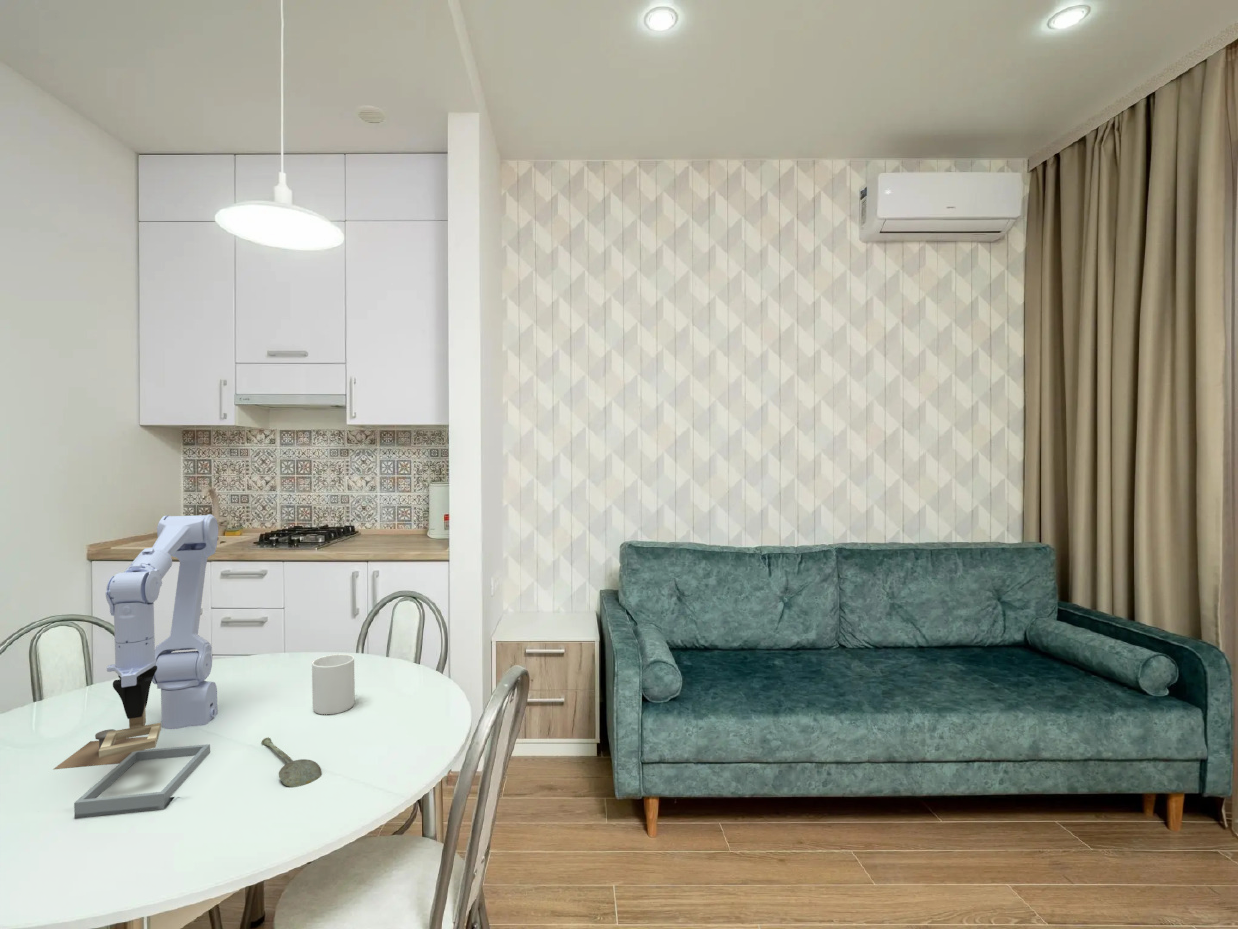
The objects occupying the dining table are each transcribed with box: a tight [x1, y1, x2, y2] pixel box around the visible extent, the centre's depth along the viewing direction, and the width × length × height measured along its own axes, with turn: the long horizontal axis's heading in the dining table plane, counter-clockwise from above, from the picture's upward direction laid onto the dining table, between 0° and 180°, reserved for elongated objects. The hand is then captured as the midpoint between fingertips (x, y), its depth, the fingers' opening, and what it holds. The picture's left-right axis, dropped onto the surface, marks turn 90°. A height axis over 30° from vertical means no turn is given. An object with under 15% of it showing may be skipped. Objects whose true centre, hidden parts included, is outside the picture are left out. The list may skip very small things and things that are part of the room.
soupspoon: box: [260, 736, 323, 788], centre depth 119 cm, size 22×3×7 cm
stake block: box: [53, 728, 148, 770], centre depth 121 cm, size 11×11×5 cm
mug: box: [311, 653, 356, 715], centre depth 145 cm, size 9×12×11 cm
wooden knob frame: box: [99, 707, 162, 758], centre depth 112 cm, size 12×8×6 cm, turn 29°
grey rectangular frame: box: [73, 743, 211, 819], centre depth 111 cm, size 13×18×2 cm
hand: (136, 713), depth 116 cm, fingers closed on wooden knob frame, 3 cm apart
